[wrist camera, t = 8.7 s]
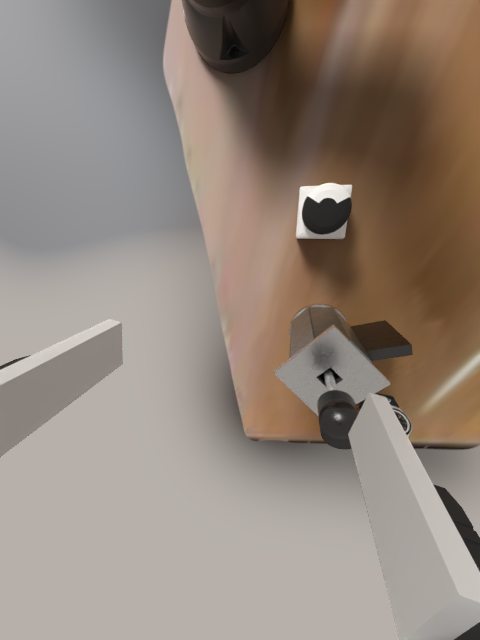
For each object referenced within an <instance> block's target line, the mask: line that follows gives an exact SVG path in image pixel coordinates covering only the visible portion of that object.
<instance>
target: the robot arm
mask: <svg viewBox="0 0 480 640" xmlns="http://www.w3.org/2000/svg"><path fill="white" fill-rule="evenodd" d="M182 4H183V12H184V17H185V22H186V25H187V28H188V31H189V34H190V36H191V38H192V40H193V42H194V44H195V46H196V48H197V50H198V52H199V53H200V55H201V56H202V58H203V59H204V60H205V61H206V62H207V63H208V64H209V65H210V66H212V67H213V68H215V69H216V70H219V71H221V72H225V73H238V72H242V71H245V70H247V69H249V68H251V67H253V66H254V65H256V64H257V63H258V62H260V61H261V60H262V59H263V58H264V57H265V56H266V55H267V54H268V52H269V51H270V50H271V48H272V47H273V45H274V44H275V42H276V40H277V38H278V37H279V34H280V32H281V30H282V27H283V25H284V22H285V18H286V14H287V10H288V4H289V0H182ZM122 364H123V362H122V324H121V322H118V321H114V320H111V319H108V320H106V321H104V322H102V323H100V324H97V325H96V326H94V327H91V328H89V329H87V330H85V331H82V332H80V333H79V334H76V335H74V336H72V337H70V338H67V339H65V340H63V341H61V342H59V343H57V344H55V345H53V346H50V347H48V348H46V349H44V350H42V351H40V352H38V353H35V354H33V355H30V356H26V357H22V358H19V359H15V360H13V361H11V362H9V363H6V364H4V365H2V366H0V457H1V456H2V455H3V454H5V453H6V452H7V451H9V450H10V449H11V448H12V447H14V446H15V445H17V444H18V443H19V442H20V441H22V440H23V439H25V438H26V437H27V436H29V435H30V434H31V433H32V432H34V431H35V430H36V429H37V428H39V427H40V426H42V425H43V424H44V423H46V422H47V421H48V420H50V419H51V418H52V417H53V416H55V415H56V414H57V413H59V412H60V411H61V410H63V409H64V408H65V407H67V406H68V405H69V404H71V403H72V402H73V401H74V400H76V399H77V398H79V397H80V396H81V395H82V394H84V393H85V392H86V391H88V390H89V389H90V388H92V387H93V386H94V385H96V384H97V383H98V382H99V381H101V380H102V379H103V378H105V377H106V376H107V375H108V374H110V373H111V372H113V371H114V370H115V369H117V368H118V367H119V366H121V365H122ZM348 436H349V440H350V444H351V448H352V452H353V456H354V460H355V463H356V468H357V472H358V476H359V480H360V484H361V488H362V492H363V496H364V500H365V504H366V508H367V512H368V516H369V520H370V523H371V528H372V532H373V536H374V540H375V544H376V548H377V552H378V556H379V560H380V564H381V568H382V572H383V576H384V580H385V584H386V588H387V592H388V596H389V600H390V604H391V608H392V612H393V616H394V620H395V624H396V628H397V632H398V636H399V640H480V537H479V536H478V534H477V532H476V531H474V530H473V526H472V524H471V522H470V521H469V519H468V517H467V516H466V514H465V512H464V510H463V509H462V507H461V506H460V505H459V504H458V503H457V501H456V500H455V499H454V498H453V497H452V496H451V495H450V493H449V492H447V490H446V489H445V488H442V487H439V486H436V485H433V484H432V482H431V480H430V478H429V476H428V474H427V472H426V471H425V469H424V467H423V465H422V463H421V461H420V459H419V457H418V456H417V454H416V452H415V450H414V448H413V446H412V444H411V442H410V441H409V439H408V437H407V435H406V433H405V431H404V429H403V428H402V426H401V424H400V422H399V420H398V418H397V416H396V414H395V413H394V411H393V409H392V407H391V405H390V403H389V401H388V399H387V398H386V397H384V396H380V395H377V394H373V393H369V394H368V396H367V398H366V400H365V402H364V404H363V406H362V408H361V410H360V412H359V414H358V416H357V418H356V420H355V421H354V423H353V425H352V427H351V429H350V431H349V433H348Z"/></svg>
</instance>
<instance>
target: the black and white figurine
mask: <svg viewBox="0 0 480 640" xmlns="http://www.w3.org/2000/svg"><path fill="white" fill-rule="evenodd" d="M351 193H352V185H338V184H335V183H325V184H322V185H320V186H302V187H301V188H300V192H299V204H298V216H297V228H296V238H298V239H343V238H344V237H345V233H346V226H347V220H348V218H349V215H350V213H351V207H352V203H351Z"/></svg>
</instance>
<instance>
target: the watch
mask: <svg viewBox="0 0 480 640" xmlns="http://www.w3.org/2000/svg"><path fill="white" fill-rule="evenodd" d="M375 394H376V393H375ZM377 395H380V396H384V397H386V398H387V399H388V401H389V403H390V405H391V407H392V409H393V411H394V413H395V414H396V416H397V418H398V420H399V422H400V424H401V426H402V428H403V429H404V431H405V433H406V435H407V437H409V434H410V433H411V431H412V424H411V421H410V419H409V418H408V416H407V415H406V414H405V413H404V412H402V411H401V409H399V406H398V404H397V403H396V401H395V399H394V398H393V397H392V396H387V395H382V394H377ZM365 400H366V399H365ZM365 400H363V401H361V403H360V407H359V409H360V410H361V408H362V406H363V404H364V402H365Z"/></svg>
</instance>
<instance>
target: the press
mask: <svg viewBox="0 0 480 640" xmlns="http://www.w3.org/2000/svg"><path fill="white" fill-rule="evenodd" d="M290 338H291V340H290V358H289V359H288V360H287V361H285V362H284V363H283V364H281V365H280V366H279V367H277V368H276V369H275V370H274V374H275V375H276V376H277V377H278V378H279V379H280V380H281V381H282V382H283V383H284V384H285V385H286V386H287V387H288V388H289V389H290V390H292V391H293V392H294V393H295V394H296V395H297V396H298V397H299V398H300V399H301V400H302V401H303V402H304V403H305V404H306V405H307V406H308V407H309V408H310V409H311V410H312V411H313V412H314V413H315V414H316V415H317V416H318V408H317V401H318V399H319V397H320V396H321V395H322V394H323V393H325V392H327V387H326V383H325V378H324V373H323V372H325V371H326V370H327V369H329V368H330V367H331V368H332V372H333V375H334V379H335V383H336V386H337V390H340V391H343V392H346V393H348V394H349V395H350V396H351V397H352V398H353V399H354V401H355V404H358V403H360V402H361V401H363V400H365V399H366V398H367V396H368V394H369V393H373V394H375V393H377V392H378V391H380V390H382V389H384V388H385V387H387V386H389V385H390V384H391V383H390V381H389V380H388V379H387V378H386V377H385V376H384V375H383V374H382V373H381V372H380V371H379V370H378V369H377V368H376V367H375V366H374V365H373V362H372V360H379V359H386V358H394V357H401V356H408V355H413V354H412V345H411V344H410V343H409V342H408V341H407V340H406V339H405V338H404V337H403V336H402V335H401V334H400V333H398V332H397V331H396V330H395V329H394V328H393V327H392V326H391V325H390V324H389V323H388V322H386V321H379V322H374V323H368V324H363V325H357V326H352V327H350V325H349V324H348V322H347V321H346V319H345V317H344V316H343V314H342V313H341V312H340V311H339V310H337V309H336V308H334V307H332V306H329V305H325V304H314V305H310V306H307V307H305V308H303V309H301V310H300V311H299V312H298V313H297V314H296V315H295V316H294V318H293V319H292V321H291V324H290ZM318 417H319V416H318Z"/></svg>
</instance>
